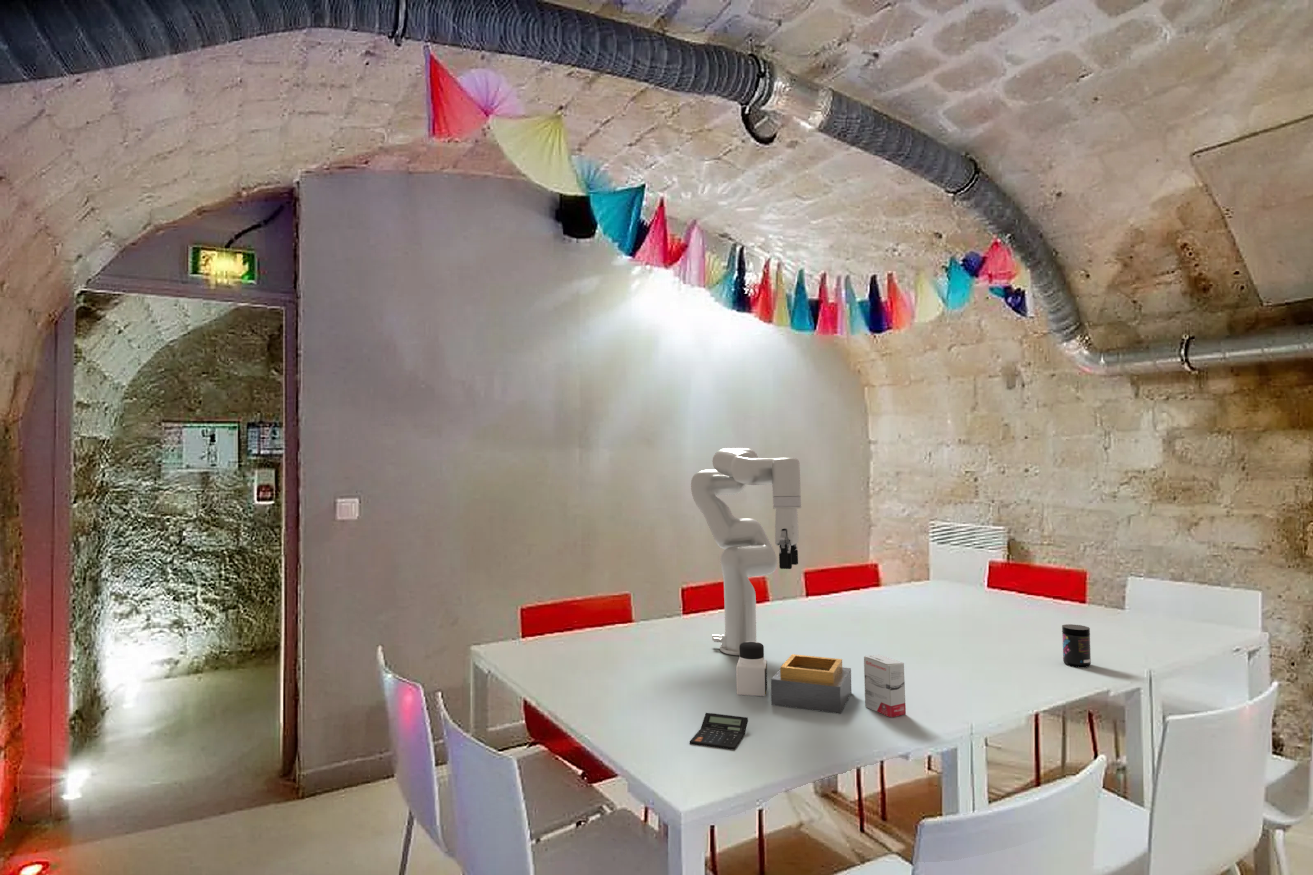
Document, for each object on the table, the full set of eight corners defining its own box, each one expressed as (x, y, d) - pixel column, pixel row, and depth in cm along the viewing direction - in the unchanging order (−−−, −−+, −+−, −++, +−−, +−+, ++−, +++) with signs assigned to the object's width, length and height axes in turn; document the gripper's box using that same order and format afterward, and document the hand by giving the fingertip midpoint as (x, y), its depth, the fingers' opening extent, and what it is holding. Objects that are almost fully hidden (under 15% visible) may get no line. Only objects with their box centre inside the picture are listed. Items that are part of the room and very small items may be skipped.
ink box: (907, 715, 161) (905, 661, 161) (890, 718, 159) (888, 664, 159) (880, 703, 169) (879, 652, 169) (863, 706, 167) (862, 655, 167)
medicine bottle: (765, 696, 174) (765, 647, 175) (736, 695, 176) (735, 646, 176) (767, 687, 181) (766, 640, 182) (739, 686, 183) (738, 638, 183)
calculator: (689, 745, 145) (689, 730, 146) (706, 725, 156) (706, 711, 156) (734, 751, 142) (734, 736, 142) (748, 731, 153) (748, 716, 153)
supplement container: (1072, 660, 203) (1071, 623, 204) (1096, 666, 197) (1095, 628, 198) (1057, 663, 200) (1056, 626, 200) (1081, 669, 194) (1080, 631, 194)
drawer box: (771, 704, 168) (770, 668, 169) (789, 682, 185) (789, 649, 185) (840, 713, 162) (839, 675, 162) (852, 689, 179) (852, 655, 179)
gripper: (779, 502, 204) (781, 562, 203) (766, 504, 188) (768, 570, 187) (805, 501, 201) (808, 563, 200) (795, 504, 185) (797, 570, 184)
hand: (789, 566), depth 193 cm, fingers open, 9 cm apart
